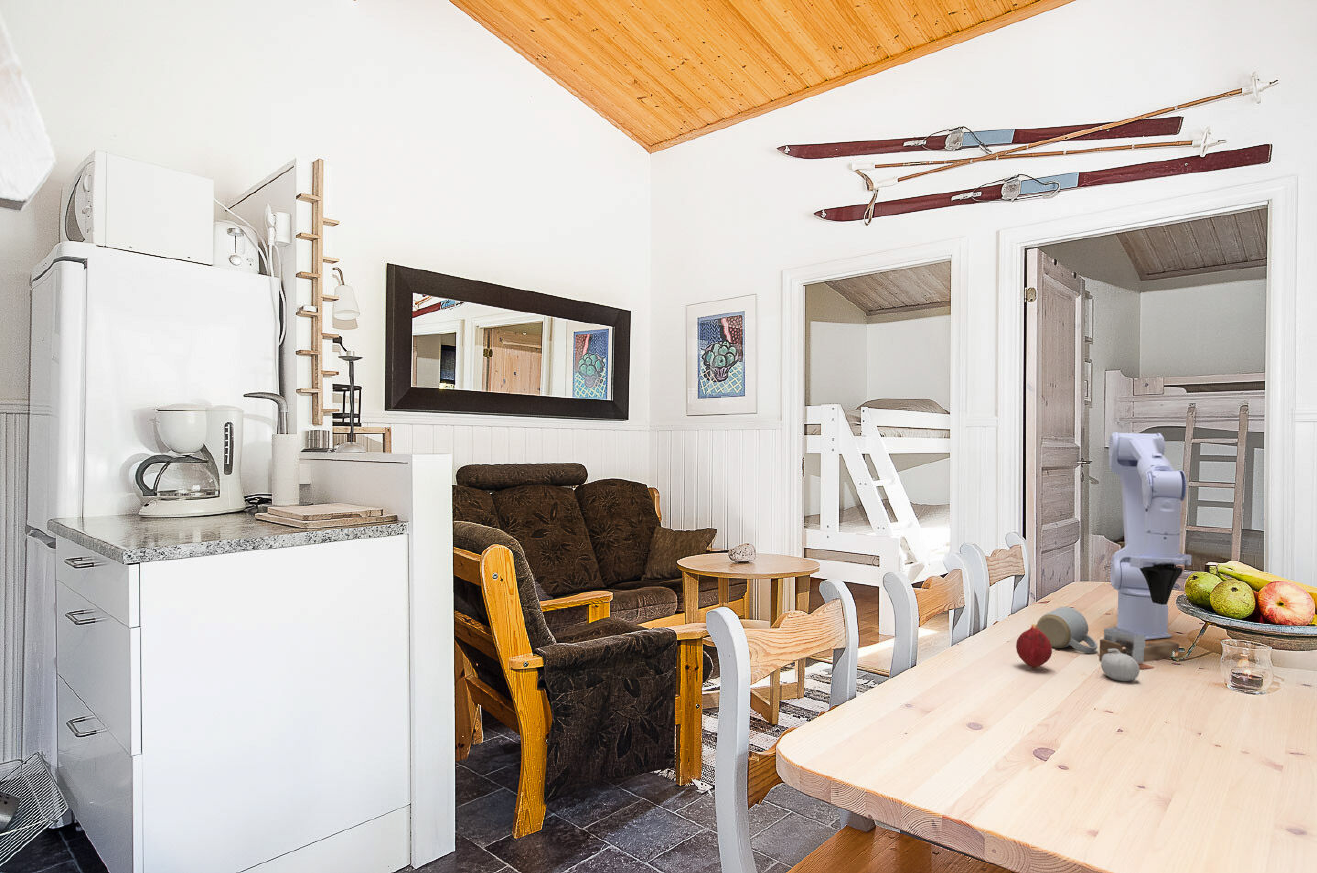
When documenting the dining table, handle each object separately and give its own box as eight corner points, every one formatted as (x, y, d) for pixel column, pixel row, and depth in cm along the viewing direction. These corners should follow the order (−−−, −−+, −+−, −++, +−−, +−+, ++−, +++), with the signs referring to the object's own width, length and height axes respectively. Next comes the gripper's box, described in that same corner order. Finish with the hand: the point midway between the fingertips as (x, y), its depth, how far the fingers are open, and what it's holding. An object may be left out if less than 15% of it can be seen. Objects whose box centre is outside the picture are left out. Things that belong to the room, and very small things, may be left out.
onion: (1057, 674, 134) (1059, 629, 134) (1024, 673, 134) (1025, 628, 134) (1041, 664, 140) (1043, 621, 140) (1010, 663, 140) (1011, 619, 140)
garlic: (1094, 677, 133) (1095, 648, 133) (1105, 672, 137) (1106, 643, 137) (1132, 687, 129) (1134, 656, 128) (1143, 681, 132) (1144, 651, 132)
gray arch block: (1114, 654, 146) (1115, 627, 146) (1144, 663, 141) (1145, 635, 141) (1103, 655, 145) (1104, 628, 145) (1133, 665, 140) (1134, 636, 140)
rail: (1151, 648, 152) (1151, 629, 152) (1197, 662, 144) (1197, 641, 144) (1086, 656, 146) (1087, 635, 146) (1131, 671, 137) (1131, 649, 137)
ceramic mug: (1032, 644, 153) (1034, 608, 153) (1050, 638, 158) (1052, 603, 158) (1086, 658, 145) (1088, 619, 145) (1103, 651, 150) (1105, 614, 150)
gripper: (1156, 537, 140) (1154, 610, 140) (1208, 534, 145) (1206, 605, 145) (1120, 531, 146) (1118, 602, 147) (1171, 529, 152) (1169, 597, 152)
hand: (1159, 603), depth 146 cm, fingers closed
